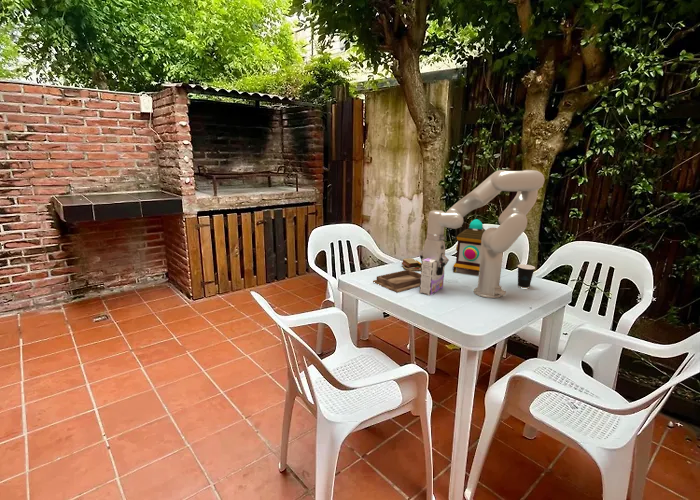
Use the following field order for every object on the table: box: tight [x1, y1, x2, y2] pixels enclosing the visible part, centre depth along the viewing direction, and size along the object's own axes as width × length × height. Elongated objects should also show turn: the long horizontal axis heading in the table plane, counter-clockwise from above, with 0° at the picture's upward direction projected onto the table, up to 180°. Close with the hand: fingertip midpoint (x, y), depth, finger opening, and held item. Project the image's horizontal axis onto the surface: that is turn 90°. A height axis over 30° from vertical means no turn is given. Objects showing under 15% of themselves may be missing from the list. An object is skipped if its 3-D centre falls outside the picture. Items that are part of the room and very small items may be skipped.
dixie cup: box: [517, 263, 536, 288], centre depth 184 cm, size 8×8×11 cm
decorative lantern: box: [452, 218, 486, 273], centre depth 208 cm, size 20×20×30 cm
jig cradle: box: [372, 269, 421, 294], centre depth 188 cm, size 18×24×4 cm
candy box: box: [419, 258, 446, 296], centre depth 177 cm, size 14×6×16 cm, turn 141°
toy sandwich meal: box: [401, 257, 422, 272], centre depth 215 cm, size 12×14×5 cm
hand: (431, 272), depth 177 cm, fingers open, 9 cm apart
